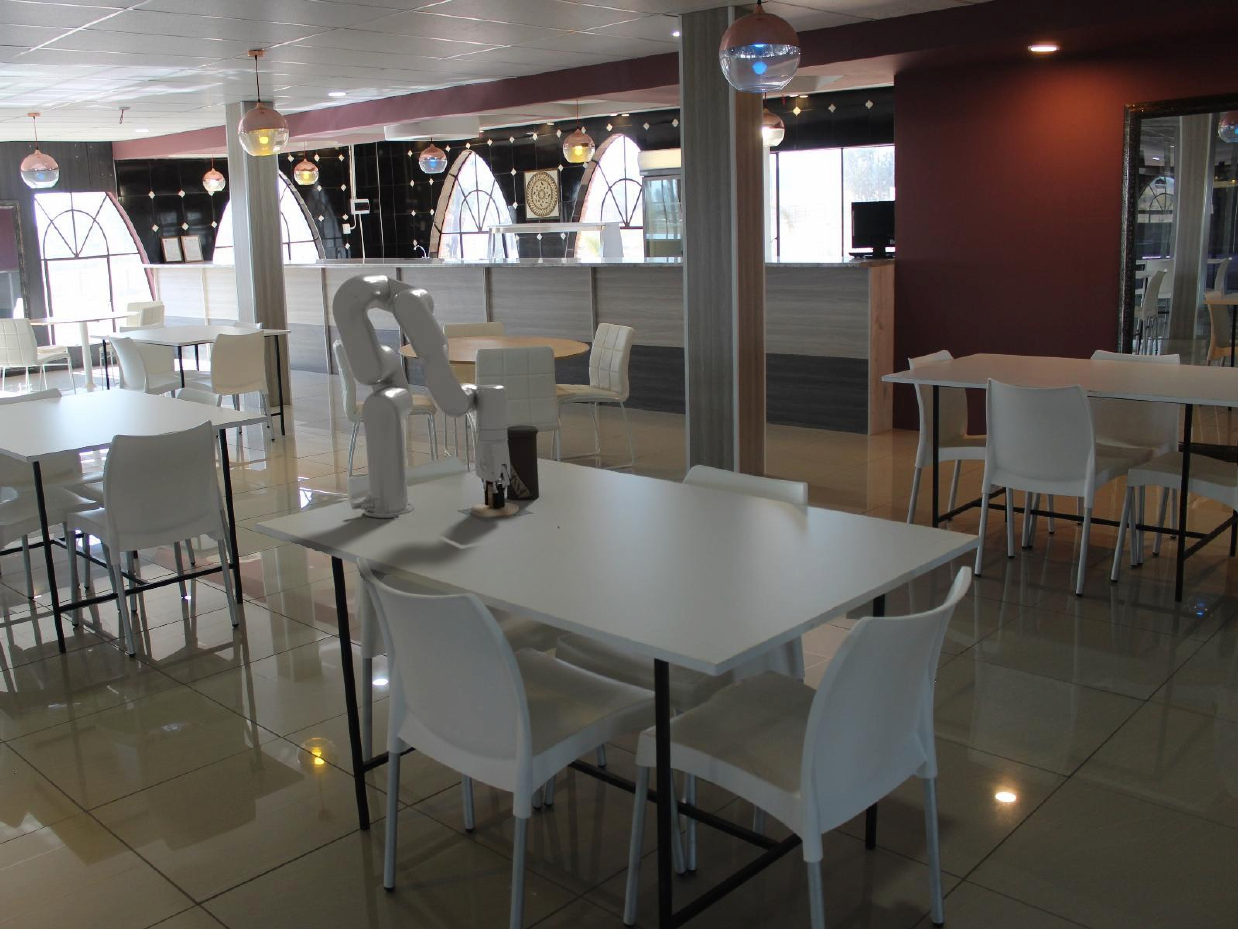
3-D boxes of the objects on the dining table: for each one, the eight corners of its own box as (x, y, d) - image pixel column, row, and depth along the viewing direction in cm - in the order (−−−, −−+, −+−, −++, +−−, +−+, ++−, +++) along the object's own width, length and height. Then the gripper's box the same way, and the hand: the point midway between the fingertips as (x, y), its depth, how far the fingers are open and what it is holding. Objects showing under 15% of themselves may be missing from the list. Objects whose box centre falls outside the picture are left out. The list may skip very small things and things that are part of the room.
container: (502, 498, 296) (499, 424, 292) (533, 494, 300) (531, 422, 295) (512, 505, 288) (510, 429, 284) (545, 501, 292) (543, 427, 288)
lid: (487, 520, 270) (486, 492, 269) (462, 510, 280) (461, 483, 278) (528, 512, 278) (527, 485, 276) (502, 503, 287) (501, 477, 285)
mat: (485, 525, 269) (485, 521, 269) (457, 513, 280) (457, 510, 280) (533, 515, 277) (533, 512, 277) (504, 505, 288) (504, 502, 288)
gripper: (463, 431, 279) (465, 502, 282) (496, 441, 266) (498, 515, 270) (488, 428, 283) (491, 498, 287) (523, 437, 270) (524, 510, 274)
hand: (494, 505), depth 278 cm, fingers closed on lid, 3 cm apart
